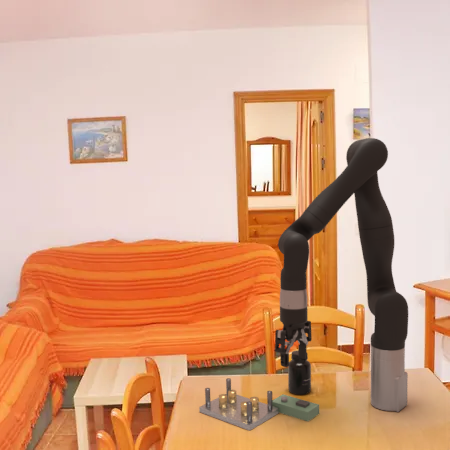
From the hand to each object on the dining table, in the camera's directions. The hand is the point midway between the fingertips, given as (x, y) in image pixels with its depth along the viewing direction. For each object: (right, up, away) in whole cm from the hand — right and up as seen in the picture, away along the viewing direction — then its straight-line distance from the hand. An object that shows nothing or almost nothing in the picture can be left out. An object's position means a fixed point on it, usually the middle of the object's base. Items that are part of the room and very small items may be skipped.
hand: (293, 362), depth 152 cm
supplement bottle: (+4, -13, +16) cm, 21 cm away
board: (0, -15, +2) cm, 15 cm away
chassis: (-15, -15, +2) cm, 21 cm away
